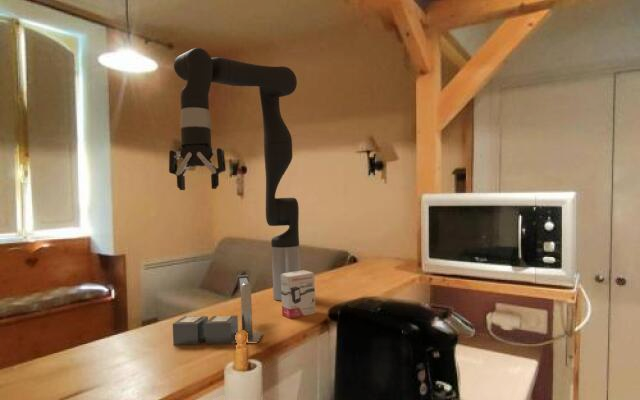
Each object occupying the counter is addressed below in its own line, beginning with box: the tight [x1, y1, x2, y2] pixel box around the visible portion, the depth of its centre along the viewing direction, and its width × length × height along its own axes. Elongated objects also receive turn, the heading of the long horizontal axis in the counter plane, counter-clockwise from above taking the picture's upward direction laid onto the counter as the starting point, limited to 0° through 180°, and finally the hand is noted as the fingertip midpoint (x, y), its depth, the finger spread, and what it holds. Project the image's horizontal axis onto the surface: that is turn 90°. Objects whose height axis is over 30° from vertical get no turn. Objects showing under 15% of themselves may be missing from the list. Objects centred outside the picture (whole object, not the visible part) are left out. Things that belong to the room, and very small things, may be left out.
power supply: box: [205, 314, 239, 346], centre depth 96 cm, size 6×6×5 cm
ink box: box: [281, 269, 316, 319], centre depth 115 cm, size 8×5×12 cm, turn 123°
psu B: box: [172, 315, 209, 346], centre depth 96 cm, size 6×6×5 cm
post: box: [231, 282, 264, 345], centre depth 96 cm, size 6×6×13 cm
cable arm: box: [237, 274, 250, 293], centre depth 105 cm, size 16×3×3 cm, turn 13°
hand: (198, 189), depth 106 cm, fingers open, 8 cm apart
